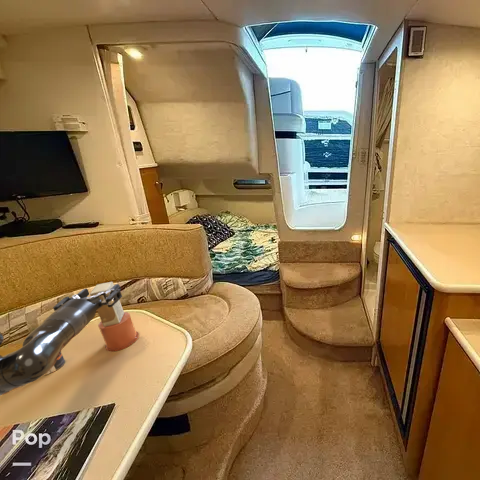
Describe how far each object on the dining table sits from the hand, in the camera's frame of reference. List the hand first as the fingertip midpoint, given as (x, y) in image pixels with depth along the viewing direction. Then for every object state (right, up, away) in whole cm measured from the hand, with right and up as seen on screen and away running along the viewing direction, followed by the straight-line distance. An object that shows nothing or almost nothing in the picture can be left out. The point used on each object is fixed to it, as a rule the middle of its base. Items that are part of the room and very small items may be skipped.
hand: (102, 289), depth 83 cm
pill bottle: (-13, -23, -3) cm, 27 cm away
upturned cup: (+1, -19, +7) cm, 20 cm away
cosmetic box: (+1, -11, +4) cm, 12 cm away
